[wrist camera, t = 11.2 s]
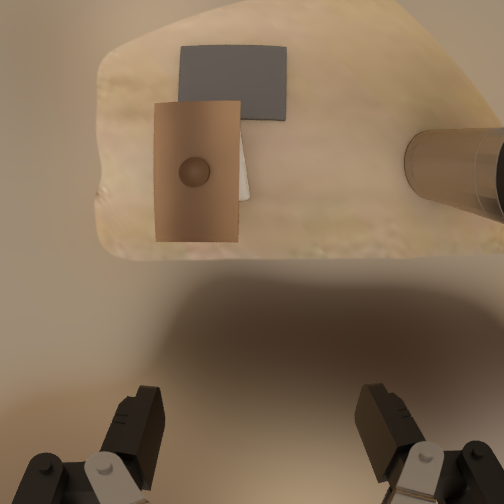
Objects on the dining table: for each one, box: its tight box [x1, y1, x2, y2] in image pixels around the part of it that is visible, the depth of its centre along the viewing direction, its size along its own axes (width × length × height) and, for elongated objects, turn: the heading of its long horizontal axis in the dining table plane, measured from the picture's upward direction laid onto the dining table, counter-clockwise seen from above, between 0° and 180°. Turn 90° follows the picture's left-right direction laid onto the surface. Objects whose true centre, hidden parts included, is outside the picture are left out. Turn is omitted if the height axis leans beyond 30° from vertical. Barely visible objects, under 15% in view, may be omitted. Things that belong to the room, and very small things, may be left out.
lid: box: [154, 101, 241, 242], centre depth 23 cm, size 6×10×4 cm, turn 179°
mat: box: [178, 45, 287, 121], centre depth 33 cm, size 12×9×1 cm
